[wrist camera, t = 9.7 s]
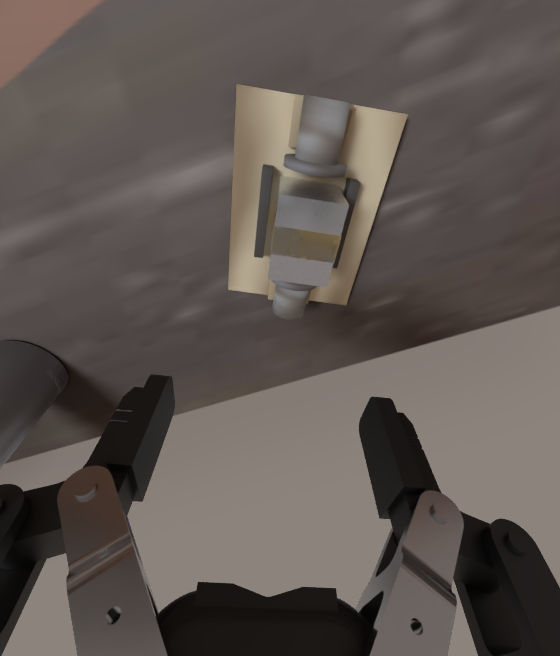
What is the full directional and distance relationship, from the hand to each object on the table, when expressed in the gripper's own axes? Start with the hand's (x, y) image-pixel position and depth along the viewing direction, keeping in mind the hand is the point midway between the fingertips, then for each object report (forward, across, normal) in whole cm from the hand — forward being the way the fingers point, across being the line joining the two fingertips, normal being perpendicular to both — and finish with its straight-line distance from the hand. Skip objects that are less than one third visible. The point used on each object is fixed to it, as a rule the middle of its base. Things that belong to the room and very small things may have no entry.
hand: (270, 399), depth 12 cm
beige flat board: (+19, -2, -2) cm, 19 cm away
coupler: (+18, -2, -2) cm, 18 cm away
